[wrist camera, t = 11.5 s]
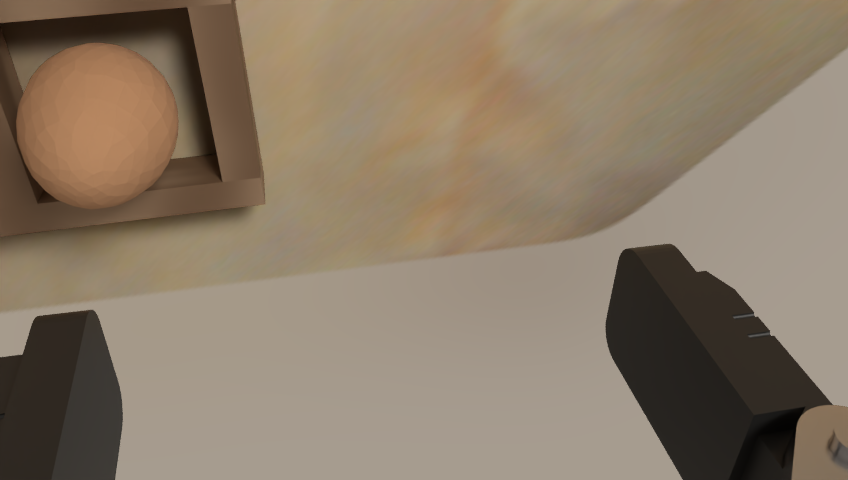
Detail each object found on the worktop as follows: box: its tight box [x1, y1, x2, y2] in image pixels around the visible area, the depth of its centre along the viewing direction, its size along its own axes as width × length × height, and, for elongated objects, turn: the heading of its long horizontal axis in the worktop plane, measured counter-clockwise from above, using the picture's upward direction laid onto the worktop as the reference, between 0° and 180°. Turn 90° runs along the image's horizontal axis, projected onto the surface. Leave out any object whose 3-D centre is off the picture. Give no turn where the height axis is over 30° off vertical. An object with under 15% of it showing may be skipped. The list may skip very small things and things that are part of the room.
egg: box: [16, 43, 178, 209], centre depth 27 cm, size 5×5×8 cm
